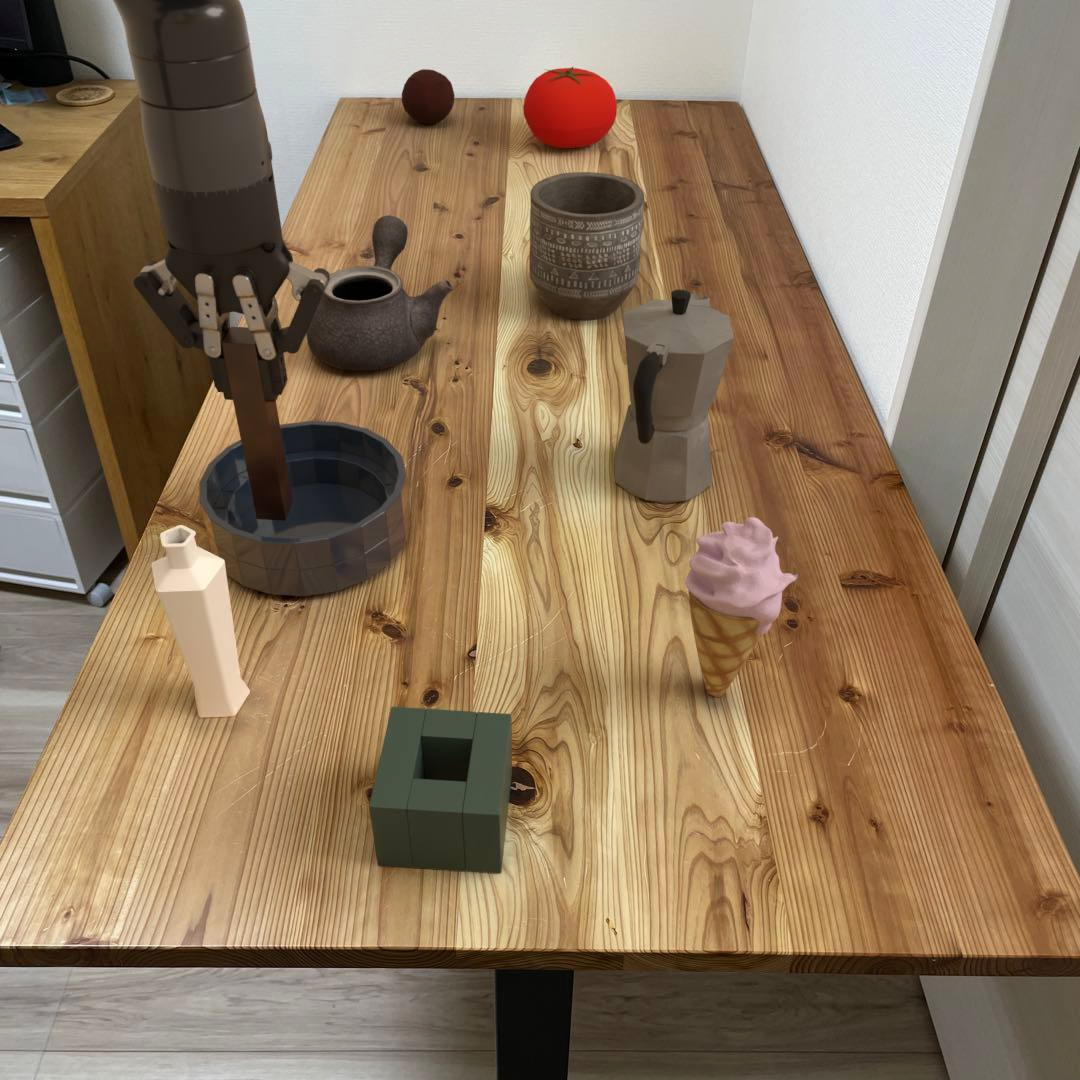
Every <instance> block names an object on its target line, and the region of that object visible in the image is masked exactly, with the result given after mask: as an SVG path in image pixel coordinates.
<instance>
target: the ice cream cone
mask: <svg viewBox="0 0 1080 1080" xmlns="http://www.w3.org/2000/svg"><path fill="white" fill-rule="evenodd" d="M721 526H722V530H719V531H712V532H708V533H707V534H703V535H700V536H698V537H696V538H695V539H696V540H695V542H696V544H697V545H698V549H697V551H696V552H695V554H694V555H692V556H691V558H690V559H689V562H688V563H689V564H688V565H689V567H690V570H689V571H688V573H687V575H686V578H685V586H686V588H687V591H688V600H689V601H688V602H689V610H690V619H691V625H692V632H693V637H694V643H695V647H696V652H697V656H698V661H699V665H700V669H701V673H702V677H703V681H704V686H705V689H706V690H705V691H706V692H707V693H708V694H709V695H710V696H711V697H715V698H720V697H722V696H724V695H725V694H726V692H727V691H728V690H729V688H730V687H731V685H732V683H733V682H734V680H735V679H736V678H737V676H738V675H739V673H740V671H741V669H742V668H743V666H744V665H745V663H746V662H747V660H748V659H749V657H750V656H751V654H752V652H753V651H754V649H755V648H756V646H757V644H758V642H759V640H760V638H761V637H762V635H765V634H766V633H767V632H768V631H770V629H771V627H772V623H773V622H774V621H776V620H777V619H778V617H779V615H780V613H781V608H782V600H783V591H784V590H785V589H786V588H787V587H788V586H789V585H790V584H791V583H793V582H795V581H796V580H797V579H798V576H799V573H796V574H792V573H789V572H785V573H783V571H782V570H781V566H780V556H779V555H778V554H777V552H776V544H777V541H778V539H779V536H775V537H774V536H773V532H772V530H771V529H770V528H769V527H768V526H766V525H765V524H764V522H762V520H760V519H759V518H757V517H754V516H749V517H747V518H746V519H745V523H744V524H743V523H742V524H741V523H737V522H732V521H724V522H723V523H722V524H721Z"/></svg>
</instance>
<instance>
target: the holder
mask: <svg viewBox="0 0 1080 1080" xmlns="http://www.w3.org/2000/svg"><path fill="white" fill-rule="evenodd" d="M388 717H389V718H388V720H387V725H386V730H385V734H384V738H383V743H382V747H381V752H380V757H379V760H378V765H377V769H376V772H375V777H374V781H373V787H372V791H371V795H370V801H369V805H368V810H369V816H370V824H371V830H372V835H373V843H374V849H375V856H376V862H377V866H381V867H382V866H383V867H398V868H412V869H425V870H426V869H427V870H440V871H455V872H456V871H457V872H465V871H466V872H474V873H488V874H489V873H490V874H501V873H502V868H503V860H504V853H505V852H504V850H505V844H506V843H505V842H506V833H507V823H508V816H509V815H508V814H509V806H510V805H509V804H510V797H511V796H510V795H511V788H512V787H511V785H512V777H513V741H512V740H513V735H512V733H513V729H512V724H513V723H512V714H511V713H501V712H483V711H472V710H470V711H469V710H456V709H455V710H454V709H453V710H452V709H434V708H419V707H403V706H391V708H390V712H389V716H388Z"/></svg>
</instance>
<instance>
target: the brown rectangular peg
mask: <svg viewBox="0 0 1080 1080" xmlns="http://www.w3.org/2000/svg"><path fill="white" fill-rule="evenodd" d="M222 347H223V352H224V357H225V362H226V367H227V372H228V377H229V382H230V387H231V393H232V398H233V400H232V402H233V407H234V412H235V418H236V422H237V427H238V432H239V438H240V440H241V443H242V448H243V453H244V458H245V463H246V468H247V473H248V478H249V483H250V488H251V493H252V498H253V503H254V508H255V513H256V518H257V519H264V520H284V521H286V519H287V516H288V514H289V511H290V509H291V506H292V503H293V500H292V494H291V488H290V482H289V476H288V470H287V464H286V458H285V453H284V447H283V441H282V435H281V429H280V425H281V423H280V416H279V411H278V405H277V401H276V402H266V401H265V397H264V391H263V386H262V380H261V374H260V369H259V363H258V359H259V357H260V354H259V351H258V348H257V345H256V342H255V338H254V335H253V333H252V332H250V331H249V329H248V326H247V327H246V326H230V329H229V331H228V333H227V335H226V336H225V338H224V340H223V342H222Z"/></svg>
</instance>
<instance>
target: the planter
mask: <svg viewBox="0 0 1080 1080" xmlns="http://www.w3.org/2000/svg"><path fill="white" fill-rule="evenodd" d="M529 195H530V197H529V198H530V199H529V200H530V208H529V257H528V259H529V262H528V263H529V277H530V280H531V282H532V284H533V286H534V288H535V290H536V292H537V293H538V294H539V296H540V298H541V299H542V300H543V302H544V303H545V305H546V306H547V307H548V309H549V310H550V311H552V312H553V313H554V314H556V315H558V316H560V317H563V318H566V319H569V320H570V319H571V320H577V321H591V320H598V319H602V318H606V317H609V316H610V315H613V314H614V313H616V311H617V310H618V309H619V308H620V306H622V304H623V303H624V302H625V301H626V299H627V297H629V295H630V294H631V292H632V291H633V289H634V288H635V286H636V285H637V283H638V281H639V275H640V266H641V246H642V235H643V234H642V233H643V224H644V223H643V221H644V206H645V205H644V204H645V193H644V190H643V189H642V188H641V186H639V184H638V183H636V182H634V181H633V180H630V179H628V178H625V177H623V176H620V175H616V174H610V173H605V172H604V173H601V172H591V171H577V172H576V171H574V172H572V171H571V172H562V173H557V174H555V175H551V176H548V177H546V178H544V179H541V180H539V181H538V182H536V183H535V184H534V185H532V187H531V189H530V193H529Z"/></svg>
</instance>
